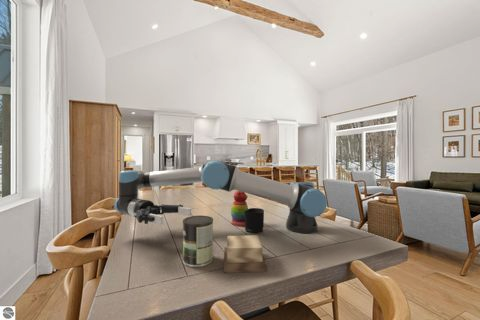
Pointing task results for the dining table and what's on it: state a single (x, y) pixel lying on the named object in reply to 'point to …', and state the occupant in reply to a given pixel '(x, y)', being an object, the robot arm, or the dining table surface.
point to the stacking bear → (239, 209)
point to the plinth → (243, 265)
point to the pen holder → (254, 220)
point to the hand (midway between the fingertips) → (177, 216)
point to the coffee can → (197, 241)
